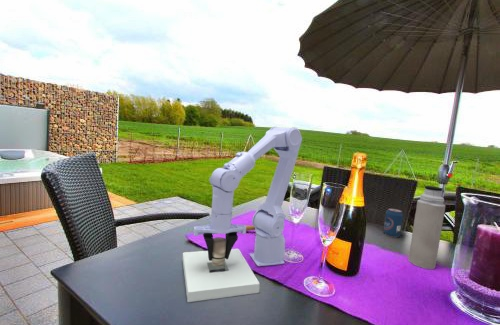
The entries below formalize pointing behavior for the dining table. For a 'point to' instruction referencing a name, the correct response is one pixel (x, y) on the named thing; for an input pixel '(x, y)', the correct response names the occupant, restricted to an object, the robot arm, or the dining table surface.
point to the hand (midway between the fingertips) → (218, 258)
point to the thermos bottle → (427, 228)
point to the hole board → (217, 276)
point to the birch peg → (218, 251)
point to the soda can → (393, 222)
